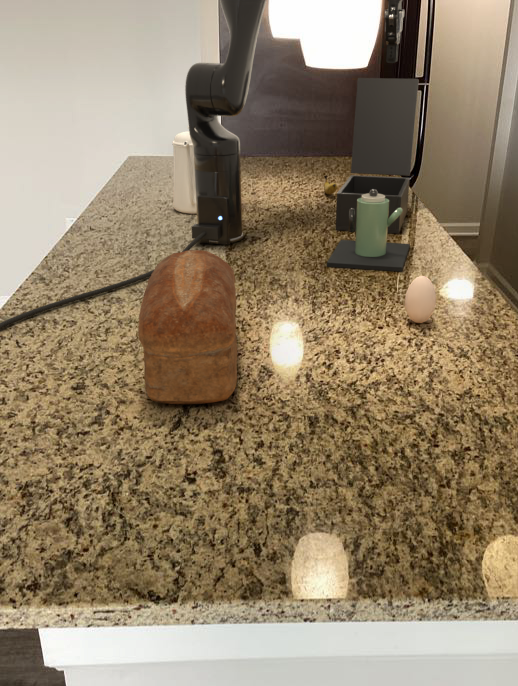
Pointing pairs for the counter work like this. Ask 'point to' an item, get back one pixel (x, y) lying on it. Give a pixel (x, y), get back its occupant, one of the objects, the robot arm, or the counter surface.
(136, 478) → the counter surface
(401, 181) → the dark gray storage bin
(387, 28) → the robot arm
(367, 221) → the kettle
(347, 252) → the mat
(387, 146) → the storage bin lid
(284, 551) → the counter surface
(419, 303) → the egg
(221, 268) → the bread
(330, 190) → the banana
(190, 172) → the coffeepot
